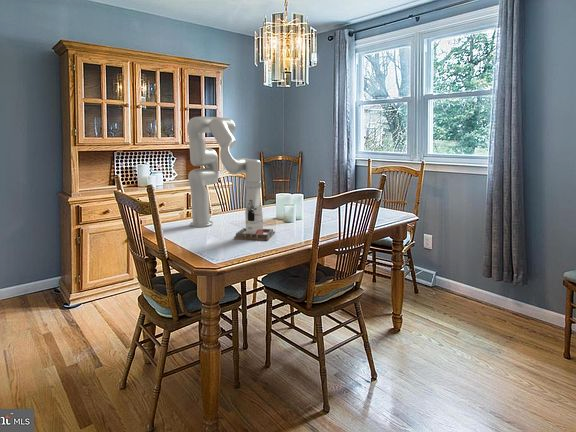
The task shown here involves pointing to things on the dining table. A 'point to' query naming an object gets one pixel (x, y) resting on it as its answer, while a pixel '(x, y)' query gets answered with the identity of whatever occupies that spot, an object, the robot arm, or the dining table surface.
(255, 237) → the dock
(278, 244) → the dining table surface
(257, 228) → the ink cartridge box
